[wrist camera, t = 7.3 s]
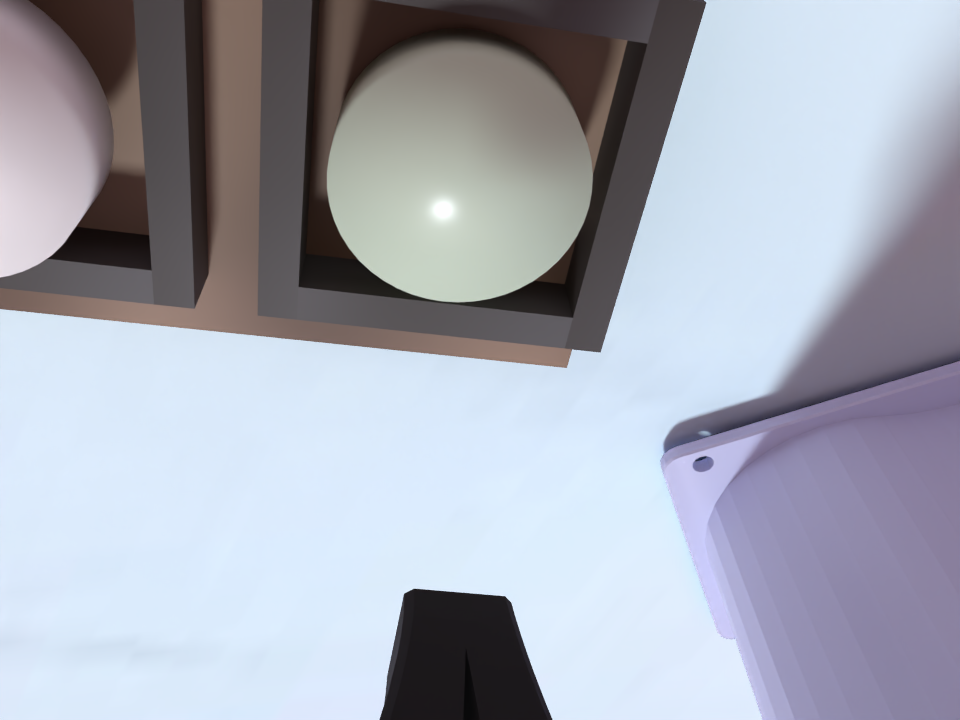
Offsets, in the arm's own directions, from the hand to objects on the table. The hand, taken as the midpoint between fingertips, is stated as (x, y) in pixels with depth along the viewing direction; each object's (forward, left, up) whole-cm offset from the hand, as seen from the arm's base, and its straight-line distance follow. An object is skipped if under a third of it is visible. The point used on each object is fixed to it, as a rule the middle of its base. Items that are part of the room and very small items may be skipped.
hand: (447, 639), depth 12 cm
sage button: (-2, -4, -7) cm, 8 cm away
